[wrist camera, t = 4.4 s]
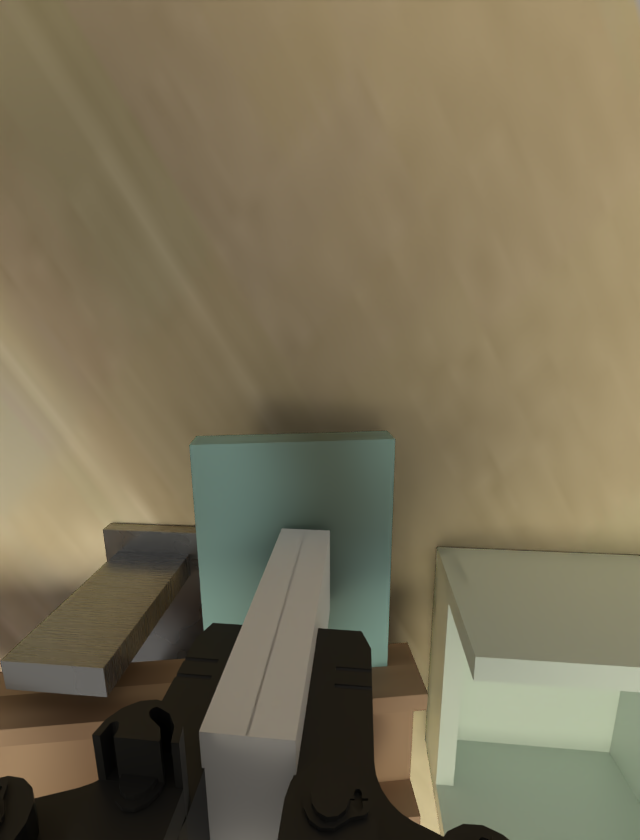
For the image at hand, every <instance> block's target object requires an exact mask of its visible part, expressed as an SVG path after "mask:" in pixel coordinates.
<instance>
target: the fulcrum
mask: <svg viewBox="0 0 640 840" xmlns="http://www.w3.org/2000/svg"><path fill="white" fill-rule="evenodd" d="M103 534H104V541H105V549H106V557H107V562H106V563H105V564H104V565H103V566H102V567H101V568H100V569H99V570H98V571H96V572H95V573H94V574H93V575H92V576H91V577H90V578H89V579H88V580H87V581H86V582H85V583H84V584H83V585H81V586H80V587H79V588H78V589H77V590H76V591H75V592H74V593H73V594H72V595H71V596H70V597H69V598H67V599H66V600H65V601H64V602H63V603H62V604H61V605H60V606H59V607H58V608H57V609H56V610H55V611H53V612H52V613H51V614H50V615H49V616H48V617H47V618H46V619H45V620H44V621H43V622H42V623H41V624H39V625H38V626H37V627H36V628H35V629H34V630H33V631H32V632H31V633H30V634H29V635H28V636H27V637H26V638H24V639H23V640H22V641H21V642H20V643H19V644H18V645H17V646H16V647H15V648H14V649H13V650H12V651H10V652H9V653H8V654H7V655H6V656H5V657H4V658H3V659H2V660H1V661H0V662H1V667H2V672H3V676H4V681H5V686H6V689H10V690H23V691H35V692H48V693H60V694H73V695H85V696H98V697H108V695H109V694H110V692H111V691H112V689H113V688H114V686H115V685H116V684H117V682H118V681H119V679H120V678H121V676H122V675H123V673H124V672H125V670H126V669H127V667H128V666H129V664H130V663H131V662H145V661H158V660H172V659H185V658H186V655H187V653H188V652H189V650H190V648H191V646H192V644H193V642H194V640H195V639H196V637H198V636H199V635H200V634H201V633H202V632H203V631H204V629H203V616H202V603H201V590H200V577H199V564H198V551H197V538H196V527H194V526H169V525H143V524H118V523H111V524H109V525H108V526H107V527H106V528H104V529H103Z"/></svg>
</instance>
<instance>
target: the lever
mask: <svg viewBox="0 0 640 840" xmlns="http://www.w3.org/2000/svg"><path fill="white" fill-rule="evenodd" d="M189 447H190V460H191V473H192V486H193V499H194V512H195V525H196V538H197V551H198V564H199V577H200V590H201V603H202V616H203V629H204V630H205V629H206V628H208V627H209V626H210V625H211V624H212V623H224V624H239V625H243V622H244V620H245V617H246V615H247V612H248V610H249V608H250V605H251V603H252V600H253V598H254V595H255V593H256V590H257V588H258V586H259V583H260V581H261V578H262V576H263V573H264V571H265V568H266V566H267V563H268V561H269V559H270V556H271V554H272V551H273V549H274V546H275V544H276V541H277V539H278V537H279V534H280V532H281V529H282V528H283V529H307V530H330V614H329V622H328V629H339V630H354V631H362V633H363V635H364V636H365V638H366V640H367V642H368V644H369V646H370V647H371V659H372V696H373V733H374V764H375V770H376V776H377V779H378V781H379V784H380V786H381V789H382V790H383V792H384V794H385V795H386V797H387V798H388V800H389V801H390V803H391V804H392V805H393V806H394V807H395V808H396V809H397V810H398V811H399V812H400V813H401V814H403V815H404V816H406V817H408V818H409V819H411V820H412V821H414V822H415V823H417V824H419V825H420V813H419V809H418V806H417V802H416V799H415V795H414V792H413V788H412V785H411V781H410V767H411V748H412V729H413V711H419V710H427V701H428V693H427V690H426V688H425V685H424V683H423V680H422V678H421V675H420V673H419V670H418V668H417V665H416V663H415V660H414V658H413V655H412V653H411V650H410V648H409V645H408V643H407V642H406V643H393V644H388V631H389V603H390V574H391V546H392V517H393V489H394V461H395V438H394V437H393V436H392V435H391V434H390V433H389V432H388V431H364V432H328V433H292V434H255V435H219V436H196V437H195V438H194V440H193V441H192V442H191V444H190V445H189ZM183 661H185V659H172V660H158V661H145V662H131V663H130V664H129V666H128V667H127V669H126V670H125V672H124V673H123V675H122V676H121V678H120V679H119V681H118V682H117V684H116V685H115V686H114V688H113V689H112V691H111V692H110V694H109V695H108V697H98V696H85V695H73V694H60V693H48V692H35V691H23V690H10V689H6V686H5V681H4V676H3V672H0V778H1V777H5V776H14V777H20V778H24V779H25V780H26V781H27V782H28V783H29V784H30V785H31V786H32V788H33V793H34V798H38V797H42V796H46V795H50V794H55V793H59V792H63V791H67V790H71V789H75V788H79V787H82V786H85V785H88V784H91V783H93V782H95V781H97V780H99V779H98V773H97V766H96V759H95V752H94V746H93V739H92V734H93V733H94V732H95V731H96V730H97V729H98V727H99V726H100V725H101V724H102V723H103V722H104V721H105V719H107V718H108V717H110V716H111V715H113V714H114V713H116V712H117V711H118V710H120V709H121V708H123V707H126V706H128V705H131V704H133V703H136V702H139V701H144V700H156V699H157V700H161V701H162V699H163V698H164V696H165V694H166V692H167V690H168V688H169V687H170V685H171V683H172V681H173V679H174V677H176V676H177V672H178V670H179V668H180V666H181V664H182V663H183Z"/></svg>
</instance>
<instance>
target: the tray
mask: <svg viewBox="0 0 640 840" xmlns="http://www.w3.org/2000/svg"><path fill="white" fill-rule="evenodd" d="M425 741H426V748H427V754H428V760H429V766H430V773H431V779H432V785H433V791H434V798H435V804H436V810H437V817H438V823H439V829H440V835H441V836H443V837H444V835H445V834H446V832H447V831H449V830H451V829H453V828H455V827H457V826H460V825H462V824H475V825H484V826H486V827H488V828H490V829H492V830H494V831H497V832H499V833H501V834H503V835H504V836H505V837H507V838H508V839H509V840H640V555H617V554H594V553H570V552H546V551H522V550H498V549H474V548H450V547H437V554H436V570H435V586H434V602H433V619H432V635H431V651H430V667H429V684H428V701H427V716H426V733H425Z"/></svg>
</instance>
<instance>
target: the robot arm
mask: <svg viewBox="0 0 640 840" xmlns="http://www.w3.org/2000/svg"><path fill="white" fill-rule="evenodd" d="M329 614H330V530H307V529H283V528H282V529H281V532H280V534H279V537H278V539H277V541H276V544H275V546H274V549H273V551H272V554H271V556H270V559H269V561H268V563H267V566H266V568H265V571H264V573H263V576H262V578H261V581H260V583H259V586H258V588H257V590H256V593H255V595H254V598H253V600H252V603H251V605H250V608H249V610H248V612H247V615H246V617H245V620H244V622H243V625H239V624H224V623H212V624H211V625H210V626H209V627H208V628H206V629H205V630H204V631H203V632H202V633H201V634H200V635H199V636H198V637H196V639H195V640H194V642H193V644H192V646H191V648H190V650H189V652H188V653H187V655H186V658H185V661H183V663H182V664H181V666H180V668H179V670H178V672H177V676H176V677H174V679H173V681H172V683H171V685H170V687H169V688H168V690H167V692H166V694H165V696H164V698H163V699H162V701H161V700H157V699H156V700H144V701H139V702H136V703H133V704H131V705H128V706H126V707H123V708H121V709H120V710H118V711H117V712H116V713H114V714H113V715H111V716H110V717H108V718H107V719H105V721H104V722H103V723H102V724H101V725H100V726H99V727H98V729H97V730H96V731H95V732H94V733H93V734H92V739H93V746H94V752H95V759H96V766H97V773H98V779H99V780H97V781H95V782H93V783H91V784H88V785H85V786H82V787H79V788H75V789H71V790H67V791H63V792H59V793H55V794H50V795H46V796H42V797H38V798H34V793H33V788H32V786H31V785H30V784H29V783H28V782H27V781H26V780H25V779H24V778H20V777H14V776H5V777H1V778H0V840H509V839H508V838H507V837H505V836H504V835H503V834H501V833H499V832H497V831H494V830H492V829H490V828H488V827H486V826H484V825H475V824H462V825H460V826H457V827H455V828H453V829H451V830H449V831H447V832H446V834H445V835H444V837H443V836H441V835H439V834H437V833H435V832H433V831H431V830H429V829H427V828H425V827H423V826H421V825H419V824H417V823H415V822H414V821H412V820H411V819H409V818H408V817H406V816H404V815H403V814H401V813H400V812H399V811H398V810H397V809H396V808H395V807H394V806H393V805H392V804H391V803H390V801H389V800H388V798H387V797H386V795H385V794H384V792H383V790H382V789H381V786H380V784H379V781H378V779H377V776H376V770H375V764H374V733H373V696H372V659H371V647H370V646H369V644H368V642H367V640H366V638H365V636H364V635H363V633H362V631H354V630H339V629H328V622H329Z"/></svg>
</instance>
